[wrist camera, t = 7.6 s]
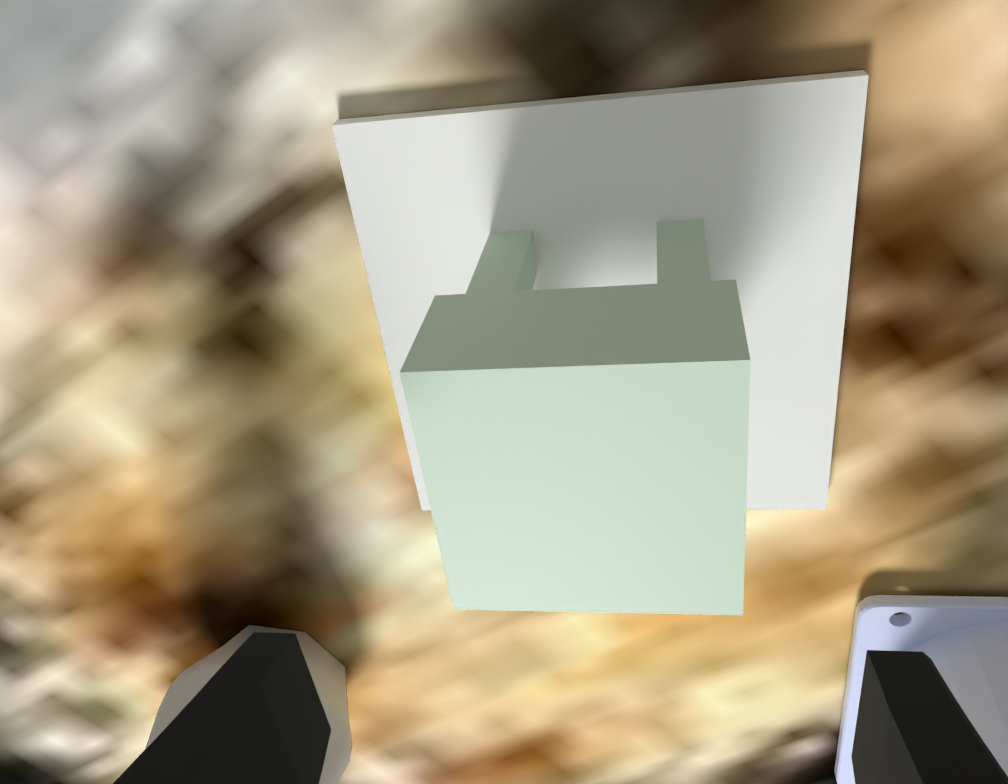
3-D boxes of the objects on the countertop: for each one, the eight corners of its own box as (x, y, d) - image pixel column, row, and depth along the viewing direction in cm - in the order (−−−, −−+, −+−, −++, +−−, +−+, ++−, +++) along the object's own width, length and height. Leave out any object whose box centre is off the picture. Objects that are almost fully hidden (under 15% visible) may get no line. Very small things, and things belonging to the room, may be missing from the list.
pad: (864, 69, 15) (868, 75, 15) (823, 498, 21) (826, 509, 20) (337, 119, 17) (331, 124, 17) (425, 500, 23) (421, 510, 22)
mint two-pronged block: (721, 200, 17) (751, 360, 12) (719, 411, 19) (743, 615, 14) (470, 218, 18) (399, 372, 13) (502, 417, 20) (453, 609, 15)
